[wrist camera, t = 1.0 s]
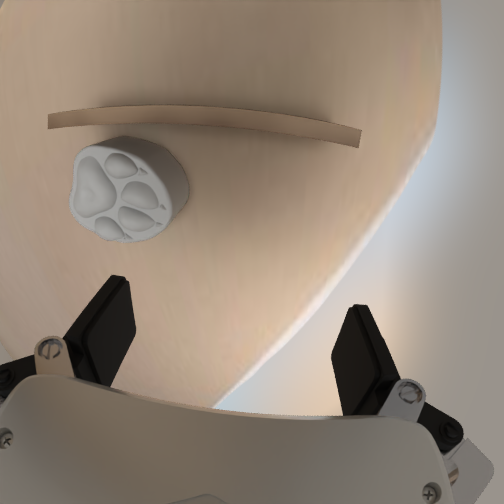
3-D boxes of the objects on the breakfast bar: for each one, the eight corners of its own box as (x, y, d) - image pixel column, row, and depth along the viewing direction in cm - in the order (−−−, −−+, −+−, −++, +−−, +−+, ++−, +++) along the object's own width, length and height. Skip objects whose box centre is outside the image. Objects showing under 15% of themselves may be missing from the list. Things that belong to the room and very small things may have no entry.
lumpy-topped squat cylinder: (109, 129, 31) (69, 139, 23) (201, 158, 32) (180, 175, 25) (94, 201, 35) (59, 226, 28) (177, 233, 37) (155, 267, 29)
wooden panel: (103, 107, 29) (48, 114, 19) (331, 122, 29) (361, 130, 20) (102, 120, 30) (47, 132, 20) (329, 137, 30) (357, 151, 21)
